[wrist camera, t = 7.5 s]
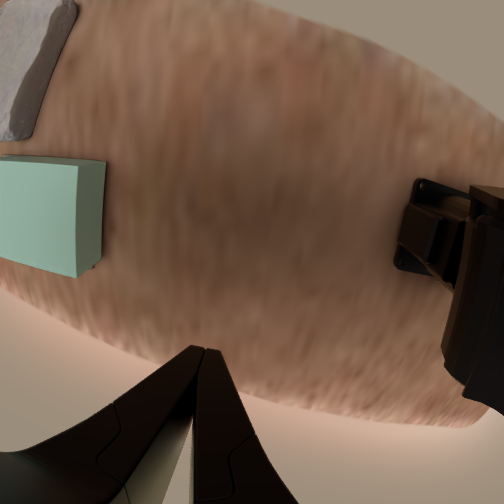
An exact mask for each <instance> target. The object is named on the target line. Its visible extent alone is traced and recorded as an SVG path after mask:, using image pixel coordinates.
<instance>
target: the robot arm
mask: <svg viewBox="0 0 504 504" xmlns="http://www.w3.org/2000/svg"><path fill="white" fill-rule="evenodd" d="M422 182H423V184H424V186H423V188H422V189H421V188H420V184H421V183H422ZM398 241H399V245H398V248H397V252H396V255H395V258H394V266H395V267H396V268H397V269H399V270H403V271H408V272H413V273H418V274H424V275H429V276H434V277H435V278H436V279H437V280H439V281H440V282H441V283H442V284H443V285H444V286H445V287H446V288H448V289H449V290H450V291H451V292H452V293H453V299H452V303H451V307H450V312H449V316H448V320H447V323H446V327H445V331H444V334H443V338H442V343H441V349H442V353H443V356H444V359H445V362H444V367H445V368H446V370H447V371H448V372H449V373H450V375H451V376H452V377H453V378H454V379H455V380H457V381H458V382H459V383H460V384H461V385H463V386H465V388H464V390H463V392H462V396H463V397H464V398H467V399H471V400H474V401H478V402H481V403H483V404H485V405H487V406H489V407H491V408H493V409H495V410H496V411H498V412H499V413H501V414H502V415H503V416H504V188H498V187H489V186H480V185H470V191H469V194H467V193H464V192H461V191H458V190H456V189H453V188H450V187H447V186H445V185H442V184H439V183H436V182H433V181H430V180H427V179H424V178H418V179H417V180H416V181H415V183H414V187H413V192H412V196H411V200H410V204H409V205H408V206H407V207H406V211H405V215H404V219H403V223H402V227H401V230H400V234H399V237H398ZM401 260H403V263H402V264H401V265H399V262H400V261H401ZM192 419H193V424H192V441H191V461H190V487H189V504H299V503H298V502H297V500H296V499H295V498H294V496H293V495H292V494H291V492H290V491H289V489H288V488H287V487H286V485H285V484H284V482H283V481H282V480H281V478H280V477H279V475H278V474H277V472H276V470H275V469H274V468H273V466H272V464H271V463H270V461H269V459H268V457H267V455H266V453H265V451H264V450H263V448H262V446H261V444H260V441H259V439H258V437H257V435H256V434H255V431H254V428H253V427H252V424H251V422H250V420H249V417H248V415H247V413H246V410H245V408H244V406H243V403H242V401H241V399H240V397H239V394H238V392H237V389H236V387H235V385H234V382H233V380H232V377H231V375H230V373H229V370H228V368H227V365H226V363H225V360H224V358H223V355H222V353H221V351H220V350H215V349H210V348H207V349H206V350H205V348H204V347H200V346H195V345H190V346H188V347H187V348H186V349H184V350H183V351H182V352H180V353H179V354H178V355H176V356H175V357H174V358H172V359H171V360H170V361H168V362H167V363H166V364H164V365H163V366H162V367H160V368H159V369H157V370H156V371H155V372H153V373H152V374H151V375H149V376H148V377H147V378H145V379H144V380H142V381H141V382H140V383H138V384H137V385H135V386H134V387H133V388H131V389H130V390H129V391H127V392H126V393H124V394H123V395H121V396H120V397H119V398H117V399H116V400H114V401H113V403H110V404H109V405H107V406H106V407H104V408H103V409H101V410H100V411H98V412H97V413H95V414H94V415H92V416H91V417H89V418H88V419H86V420H84V421H82V422H80V423H79V424H77V425H75V426H73V427H71V428H69V429H67V430H65V431H64V432H61V433H59V434H57V435H55V436H53V437H51V438H49V439H47V440H45V441H43V442H41V443H39V444H36V445H34V446H32V447H30V448H27V449H24V450H20V451H15V452H0V504H162V502H163V499H164V497H165V494H166V491H167V488H168V486H169V483H170V480H171V478H172V475H173V472H174V470H175V467H176V464H177V461H178V459H179V456H180V453H181V451H182V448H183V445H184V442H185V440H186V437H187V434H188V432H189V429H190V426H191V423H192Z"/></svg>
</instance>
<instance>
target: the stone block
mask: <svg viewBox="0 0 504 504" xmlns="http://www.w3.org/2000/svg"><path fill="white" fill-rule="evenodd" d="M76 15H77V9H76V3H75V2H74V0H10V1H8V2H6V3H5V4H4V5H3V6H2V8H1V9H0V142H5V141H10V142H13V141H19V140H23V139H27V138H29V137H30V136H31V134H32V132H33V130H34V127H35V123H36V120H37V116H38V113H39V110H40V107H41V103H42V100H43V97H44V94H45V91H46V89H47V86H48V83H49V80H50V78H51V75H52V72H53V70H54V67H55V65H56V62H57V59H58V56H59V54H60V51H61V49H62V47H63V46H64V44H65V41H66V39H67V37H68V35H69V33H70V31H71V29H72V26H73V24H74V21H75V19H76Z"/></svg>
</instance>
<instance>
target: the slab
mask: <svg viewBox="0 0 504 504" xmlns="http://www.w3.org/2000/svg"><path fill="white" fill-rule="evenodd" d="M105 169H106V162H103V161H93V160H81V159H68V158H54V157H37V156H9V157H2V158H0V257H3V258H6V259H9V260H12V261H16V262H19V263H22V264H26V265H29V266H33V267H36V268H40V269H43V270H47V271H50V272H54V273H58V274H61V275H65V276H69V277H73V278H78V277H79V276H80V275H82V274H83V273H84V272H85V271H87V270H88V269H89V268H91V267H92V266H93V265H94V264H96V263H97V262H98V261H100V260H101V234H102V209H103V193H104V180H105Z"/></svg>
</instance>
